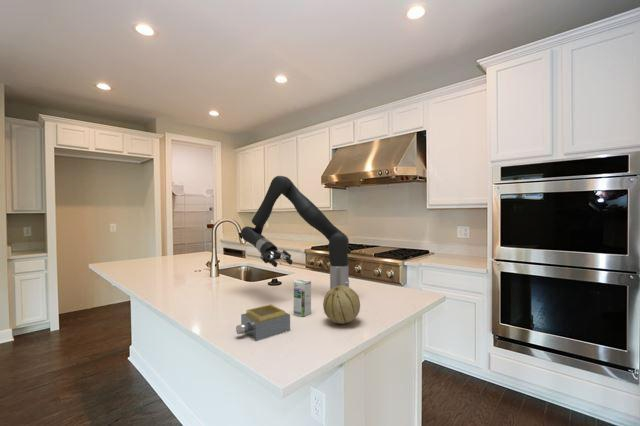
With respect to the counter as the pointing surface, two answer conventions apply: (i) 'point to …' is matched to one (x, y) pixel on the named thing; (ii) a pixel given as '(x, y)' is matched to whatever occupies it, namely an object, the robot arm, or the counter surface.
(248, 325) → the tray
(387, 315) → the counter surface
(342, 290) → the cantaloupe
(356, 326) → the counter surface
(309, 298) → the syrup box
